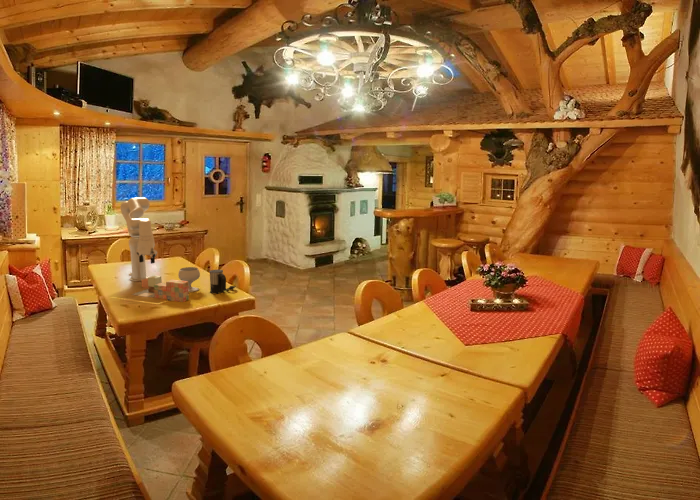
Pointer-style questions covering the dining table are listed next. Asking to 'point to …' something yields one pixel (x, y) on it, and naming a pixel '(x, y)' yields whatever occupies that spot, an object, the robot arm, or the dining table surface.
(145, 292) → the board
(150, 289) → the walnut block
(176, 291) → the stack of blocks
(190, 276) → the chalice
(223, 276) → the milk frother
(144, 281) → the terracotta block
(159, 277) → the sage block
